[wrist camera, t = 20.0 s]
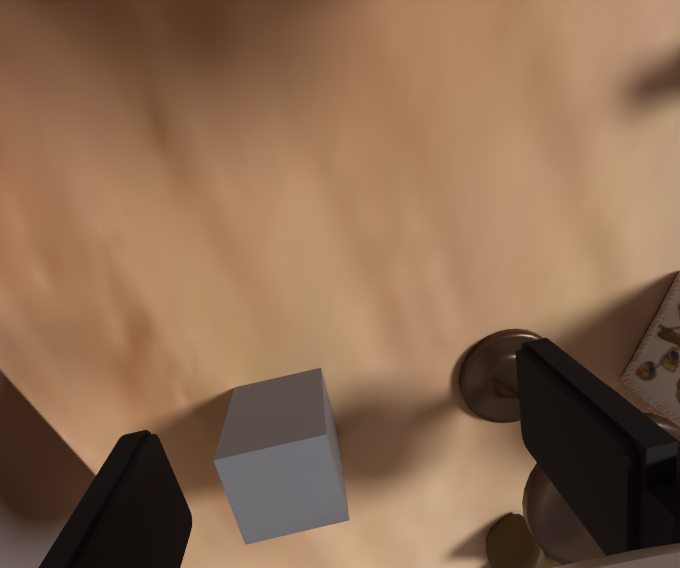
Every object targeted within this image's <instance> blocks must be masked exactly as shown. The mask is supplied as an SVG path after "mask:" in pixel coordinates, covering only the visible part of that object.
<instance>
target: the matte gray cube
mask: <svg viewBox="0 0 680 568" xmlns="http://www.w3.org/2000/svg"><path fill="white" fill-rule="evenodd" d="M213 461H214V464H215V466H216V469H217V472H218V474H219V477H220V479H221V482H222V485H223V487H224V490H225V492H226V495H227V498H228V500H229V503H230V506H231V508H232V511H233V513H234V516H235V519H236V521H237V524H238V526H239V529H240V532H241V534H242V537H243V540H244V542H245V544H250V543H254V542H258V541H262V540H267V539H271V538H275V537H280V536H284V535H288V534H292V533H297V532H301V531H305V530H310V529H314V528H318V527H322V526H327V525H331V524H335V523H339V522H344V521H348V520H349V514H348V506H347V498H346V490H345V482H344V474H343V466H342V458H341V450H340V441H339V437H338V433H337V429H336V425H335V421H334V417H333V413H332V409H331V405H330V401H329V397H328V393H327V390H326V386H325V382H324V378H323V374H322V370H321V368H320V369H315V370H311V371H306V372H302V373H298V374H293V375H289V376H285V377H280V378H276V379H271V380H267V381H263V382H258V383H254V384H250V385H245V386H241V387H236V388H234V390H233V393H232V397H231V400H230V404H229V407H228V411H227V414H226V418H225V421H224V425H223V428H222V432H221V435H220V439H219V442H218V446H217V449H216V453H215V456H214V460H213Z"/></svg>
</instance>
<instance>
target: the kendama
mask: <svg viewBox="0 0 680 568" xmlns="http://www.w3.org/2000/svg"><path fill="white" fill-rule="evenodd" d="M486 553H487V557H488V560H489V563H490V565H491V567H492V568H553V567H557V566H562V564H560V563H558V562H556V561H554V560H553V559H551V558H550V557H549V556H548V555H546V554H545V553H544V552H543V550H542V549H541V548H540V546H539V545H538V544H537V542H536V540H535V539H534V537H533V535H532V534H531V532H530V530H529V529H528V526H527V524H526V521H525V518H524V516H522V515H520V514H510V515H507V516H506V517H504V518H503V519H501V520H500V521H498V522H497V523H496V524H495V525H494V526H493V527H492V528H491V529H490V532H489V534H488V536H487V538H486Z"/></svg>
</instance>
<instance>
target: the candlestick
mask: <svg viewBox="0 0 680 568" xmlns="http://www.w3.org/2000/svg"><path fill="white" fill-rule="evenodd" d="M541 338H542V337H541V336H539V335H537V334H536V333H533V332H531V331H528V330H522V329H508V330H504V331H499V332H496V333H494V334H492V335H489V336H488V337H486V338H484V339H483V340H481V341H480V342H479V343H478V344H477V345H475V346H474V347H473V348H472V349H471V351H470V352H469V353H468V355H467V356H466V358H465V360H464V362H463V363H462V366H461V369H460V373H459V387H460V392H461V394H462V397H463V399H464V400H465V402H466V403H467V405H468V406H469V408H470V409H471V410H472V411H473V412H474V413H475V414H476V415H477V416H479V417H481V418H483V419H485V420H488V421H491V422H498V423H508V422H515V421H519V420H521V417H520V405H519V393H518V381H517V368H516V351H517V350H519V349H521V345H522V343H524V342H528V341H532V340H537V339H541ZM644 414H645V415H646V416H647V417H649V418H650V419H651V420H653V421H654V422H655V423H656V424H658V425H659V426H660V427H661V428H663V429H664V430H665V431H667V432H668V433H669V434H670V435H672V436H673V437H674V438H675V439H677V440H678V441H679V442H680V427H679V426H678V425H676V424H674V423H673V422H671V421H670V420H668V419H667V418H664V417H661V416H658V415H655V414H651V413H644ZM522 505H523V515H524V518H525V521H526V524H527V526H528V529H529V530H530V532H531V534H532V535H533V537H534V539H535V540H536V542H537V544H538V545H539V546H540V548H541V549H542V550H543V552H544V553H545V554H546V555H548V556H549V557H550V558H551V559H553V560H554V561H556V562H558V563H560V564H562V565H567V564H571V563H576V562H581V561H586V560H590V559H595V558H600V557H605V556H606V555H605V554H604V552H603V551H602V550H601V548H600V547H599V546H598V544H597V543H596V542H595V540H594V539H593V538H592V536H591V535H590V533H589V532H588V531H587V529H586V528H585V527H584V525H583V524H582V523H581V521H580V520H579V519H578V517H577V516H576V515H575V513H574V512H573V510H572V509H571V508H570V506H569V505H568V504H567V502H566V501H565V500H564V498H563V497H562V496H561V494H560V493H559V492H558V490H557V489H556V487H555V486H554V485H553V483H552V482H551V481H550V479H549V478H548V477H547V475H546V474H545V473H544V471H543V470H542V469H541V467H540V466H539V464H538V463H536V465H535V467H534V468H533V470H532V472H531V473H530V475H529V478H528V480H527V483H526V486H525V488H524V494H523V501H522Z"/></svg>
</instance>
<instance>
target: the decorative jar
mask: <svg viewBox="0 0 680 568" xmlns="http://www.w3.org/2000/svg"><path fill="white" fill-rule="evenodd" d="M621 382H622V383H623V384H624V385H626V386H627V387H628V388H629V389H631V390H632V391H633V392H635V393H636V394H637V395H638V396H639V397H641V398H642V399H643V400H645V401H646V402H647V403H648V404H650V405H651V406H653V407H654V408H655V409H656V410H658V411H659V412H661V413H662V414H663V415H665V416H666V417H667V418H669V419H670V420H671V421H672V422H674V423H675V424H677V425H678V426H680V272H679V273H678V275H677V276H676V278H675V280H674V282H673V284H672V286H671V288H670V290H669V292H668V293H667V295H666V297H665V299H664V301H663V303H662V305H661V307H660V309H659V311H658V313H657V315H656V317H655V319H654V320H653V322H652V323H651V325H650V327H649V329H648V330H647V332H646V334H645V336H644V337H643V340H642V341H641V343H640V345H639V347H638V349H637V351H636V353H635V355H634V357H633V359H632V361H631V362H630V364H629V365H628V367H627V368H626V370H625V372H624V374H623V375H622V377H621Z"/></svg>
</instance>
